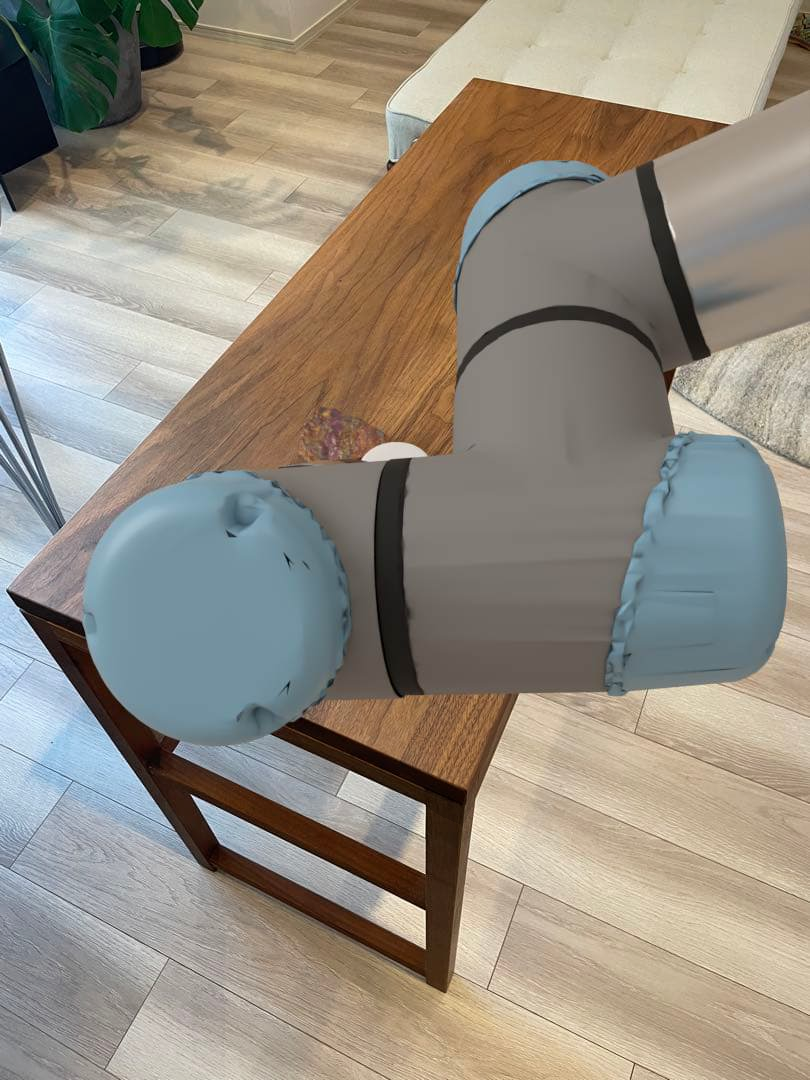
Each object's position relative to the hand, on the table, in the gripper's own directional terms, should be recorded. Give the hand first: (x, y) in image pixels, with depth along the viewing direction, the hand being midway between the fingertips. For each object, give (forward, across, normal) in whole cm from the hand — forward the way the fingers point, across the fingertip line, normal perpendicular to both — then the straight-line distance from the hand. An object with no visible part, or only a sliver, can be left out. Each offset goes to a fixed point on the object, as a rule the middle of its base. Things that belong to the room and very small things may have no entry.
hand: (410, 503), depth 59 cm
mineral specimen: (+21, -8, 0) cm, 22 cm away
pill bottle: (0, 0, -5) cm, 5 cm away
